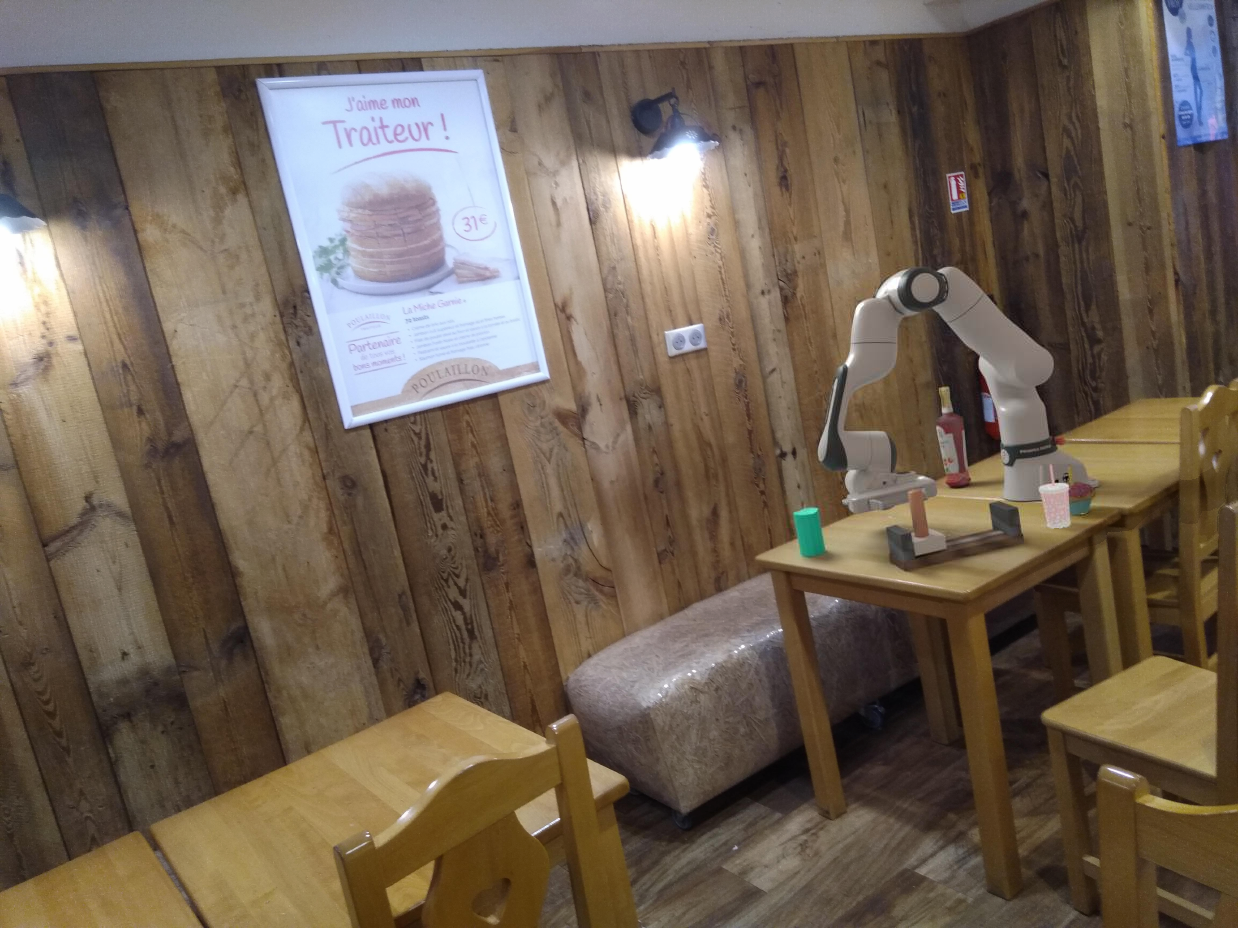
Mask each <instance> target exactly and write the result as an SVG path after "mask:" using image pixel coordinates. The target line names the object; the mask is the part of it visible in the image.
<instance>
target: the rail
mask: <svg viewBox="0 0 1238 928" xmlns="http://www.w3.org/2000/svg"><path fill="white" fill-rule="evenodd" d="M988 507H989V513H990V520H991V521H990V522H991V529H987V530H984V531H980V532H975V533H970V534H966V535H962V536H961V535H960V536H957V537H954V538H949V539H945V542H946V548H947V549H943V550H938V551H934V552H930V553H926V554H921V555H917V556H915V553H914V547H913V541H912V535H911V533H912V532H911V531H909V530H907V529H905V528H903V527H901V526H899V525H897V524H895V525H890V526H886V527H885V531H886V538H887V543H888V549H889V552H888V556H889V562H890V563H891V564H893V565H894V566H895V567H897V568H899V569H901V570H902V571H903V572H908V571H912V570H916V569H919V568H924V567H928V566H932V565H937V564H940V563H941V564H942V563H944V562H945V563H946V562H949V561H953V560H958V559H959V560H960V559H962V558H966V557H970V556H975V555H979V554H983V553H988V552H991V551H995V550H1001V549H1005V548H1009V547H1014V546H1017V545H1022V544H1025V536H1024V533H1023V531H1022V525H1021V519H1020V511H1019V507H1017V506H1014V505H1012V504H1009V503H1006V502H1003V501H1001V500H998V501H994V502H993V501H992V502H989V503H988Z"/></svg>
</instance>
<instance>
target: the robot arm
mask: <svg viewBox="0 0 1238 928" xmlns="http://www.w3.org/2000/svg"><path fill="white" fill-rule="evenodd" d="M929 310H934V311H935V312H936V313H938V315H939V316H940V317H941V318H942V320H943V321H944V322H945V323H946V324H947V325H948V326H949V328H951V330H952V331H953V332H954V333H955V334H956V335H957V337H958V338H959V339H960V340H961V341H962V342H963V344H965V346H966V347H968V348H969V349H971V350H972V351H974V352H975V353H976V354H978V356H979V359H978V369H979V371H980V372H981V375H982V376H983V378H984V379H985V382H986V384H987V388H988V390H989V393H990V396H991V398H992V401H993V405H994V408H995V412H996V414H997V415H996V416H997V420H998V421H997V422H998V426H999V427H998V429H999V432H1000V433H999V434H1000V440H1001V441H1000V442H999V447H1000V455H1001V456H1000V457H1001V459H1002V464H1003V470H1004V471H1003V473H1004V475H1003V477H1004V479H1003V491H1002V498H1003V499H1005V500H1009V501H1016V502H1027V501H1028V502H1029V501H1031V502H1033V501H1042V497H1041V493H1040V492H1039V487H1040V486H1043V485H1046V484H1052V479H1051V472H1050V465H1052V469H1053V477H1054V483H1065V484H1066V483H1069V482H1070V477H1069V471H1068V467H1069V464H1070V467H1071V469H1072V476H1073V482H1083V483H1086V484H1089V485H1091V486H1092V487H1093V488H1094V489H1095V488H1097V487H1100V482H1099V480H1098V479H1096V478H1094V477H1091V476H1088V475H1089V474H1088V472H1087V468H1086V466H1085V465H1084V463H1083V462H1082V461H1081V460H1080V459H1078V458H1076V457H1074V456H1072V455H1070V454H1068V453H1067V452H1065V451H1063V450H1060V449H1059V446H1064V445H1065V443H1066V438H1064V437H1061V436H1055V437H1054V436H1051V435H1050V433H1049V432H1050V431H1049V427H1048V426H1049V425H1048V418H1047V412H1046V411H1047V410H1046V406H1045V403H1044V402H1043V401H1042V399H1041V397H1040V395H1039V394H1038V391H1037V389H1036V387H1037V386H1040V385H1042V384H1044V383H1045V382H1047V381H1048V380H1049V379H1050V377H1051V376H1052V374H1053V371H1054V368H1055V367H1054V364H1055V363H1054V359H1053V356H1052V354H1051V353H1050V352H1049V351H1048V350H1047V349H1046V348H1044V347H1043V346H1041V345H1040V344H1038V343H1037V342H1036V341H1035V340H1034V339H1033V338H1032V337H1030V336H1029V335H1028V334H1027V333H1026V332H1025V331H1024V330H1022V329H1021V328H1020V327H1019V326H1018V325H1017V324H1015V323H1013V322H1012V321H1011V320H1010V319H1009V318H1007V316H1006V315H1005V314H1004V313H1003V312H1002V311H1001V310H1000V309H999V307H997V305H996V304H995V303H994V302H993V301H992V300H991V299H990V297H989V296H987V294H986V293H985V292H984V291H983V289H981V287H980V286H979V285H978V284H977V283H976V282H974V280H972V278H970V277H969V276H968V275H967V274H966V273H964V272H963V271H962V270H960V269H959V268H957V267H955V266H946V267H942V268H940V269H938V270H937V271H936V270H934V269H932V268H929V267H926V266H925V267H924V266H917V267H915V266H914V267H912V268H908V269H907V268H906V269H904V270H901V271H898V272H896V273H895V274H893V275H890V276H888V277H887V278H885V279H884V280H882V282H881V283H880V284H879V285H878V287H877V289H876V291H875V293H874V294H873V296H872V297H870V298H867V299H865V300H864V299H863V300H862V301H861V302H859V303H858V304H857V306H856V308H855V311H854V315H853V321H852V324H851V333H850V349H849V354H848V356H847V358H846V359H845V362H844V363H843V364H841V365H839V366H838V368H837V370H836V371H835V373H834V377H833V380H832V381H833V382H832V386H831V390H830V395H829V400H828V404H827V405H828V406H827V410H826V415H825V420H824V426H823V428H822V432H821V436H820V440H819V442H818V443H819V444H818V448H817V458H818V462H819V463H820V465H822V467H824V468H825V469H826V470H827V471H830V472H831V473H835V472H836V473H837V472H846V471H848V472H847V473H846V475H845V479H844V483H845V487H846V489H847V491H848V493H849V494H847V496H846V498H844V499H842V501H841V503H842V504H843V505H845V506H848V509H849V510H850V512H852V513H853V514H855V515H856V514H857V515H858V514H859V515H860V514H863V513H864V514H865V513H869V512H873V511H888V510H891V509H893V508H894V507H896V506H900V505H904V504H908V503H909V498H908V491H910V490H914V489H921V490H922V493H923V499H924V501H929V498H934V497H936V496H937V495H938V487H937V483H936V480H934V479H933V478H930V477H928V476H925V475H922V474H921V475H920V474H917V472H916V471H913V470H909V471H899V472H894V471H895V469H896V466H897V460H898V449H897V446H896V444H895V441H894V440H893V438H892V437H891V435H889V433H887V432H886V431H884V430H883V431H882V430H864V431H863V430H861V431H860V430H858V431H857V430H853V431H852V430H851V431H850V430H849V431H847V430H844V426H845V422H846V417H847V412H848V408H849V403H850V402H849V401H850V398H851V396H852V395H853V393H854V392H855V391H857V390H858V389H860V388H862V387H864V386H867V385H869V384H872V383H875V382H877V381H879V380H881V379H883V378H884V377H886V376H888V375H889V374H890V373H891V371H893V369H894V368H895V366H896V362H897V357H898V330H899V325H900V323H901V321H902V319H903V318H906V317H912V316H916V315H918V314H919V313H922V312H926V311H929ZM1057 445H1059V446H1057Z"/></svg>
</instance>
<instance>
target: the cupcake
mask: <svg viewBox="0 0 1238 928" xmlns="http://www.w3.org/2000/svg"><path fill="white" fill-rule="evenodd" d="M1068 471H1069V477H1070V482H1069V483H1066V484H1068V485H1069V490H1068V494H1069V510H1070V514H1081V513H1086V512H1088V511H1089V512H1090V510H1091V509H1090V508H1091V504H1092V501H1093V499H1094V498H1095V496H1096V492H1095V491H1096V490H1095V487H1094V488H1093V487H1092V486H1091V485H1089V484H1086V483H1083V482H1073V476H1072V469H1071V467H1070V464H1069V467H1068ZM1089 512H1088V513H1089ZM1086 514H1087V513H1086Z"/></svg>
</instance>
